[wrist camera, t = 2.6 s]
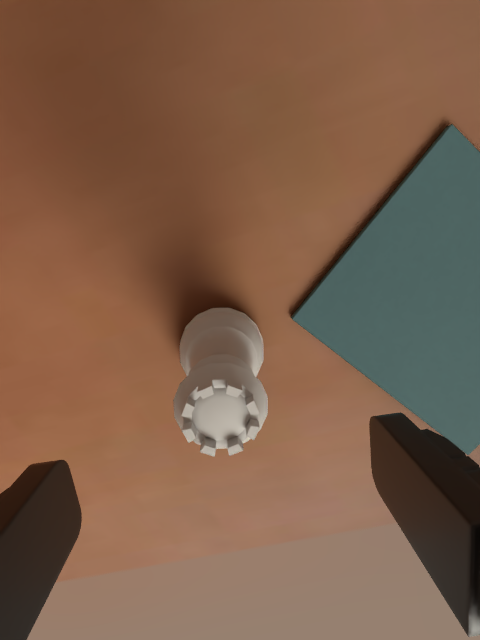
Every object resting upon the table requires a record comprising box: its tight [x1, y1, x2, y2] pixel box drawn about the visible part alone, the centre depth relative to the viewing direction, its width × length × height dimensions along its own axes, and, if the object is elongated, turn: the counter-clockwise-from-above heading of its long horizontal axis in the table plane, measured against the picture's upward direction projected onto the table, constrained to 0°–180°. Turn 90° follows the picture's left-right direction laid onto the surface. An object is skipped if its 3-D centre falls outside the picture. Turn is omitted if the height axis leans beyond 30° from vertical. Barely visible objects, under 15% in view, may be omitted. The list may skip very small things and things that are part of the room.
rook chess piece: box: [173, 308, 268, 456], centre depth 15 cm, size 4×4×8 cm
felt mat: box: [291, 124, 480, 455], centre depth 18 cm, size 14×12×1 cm
